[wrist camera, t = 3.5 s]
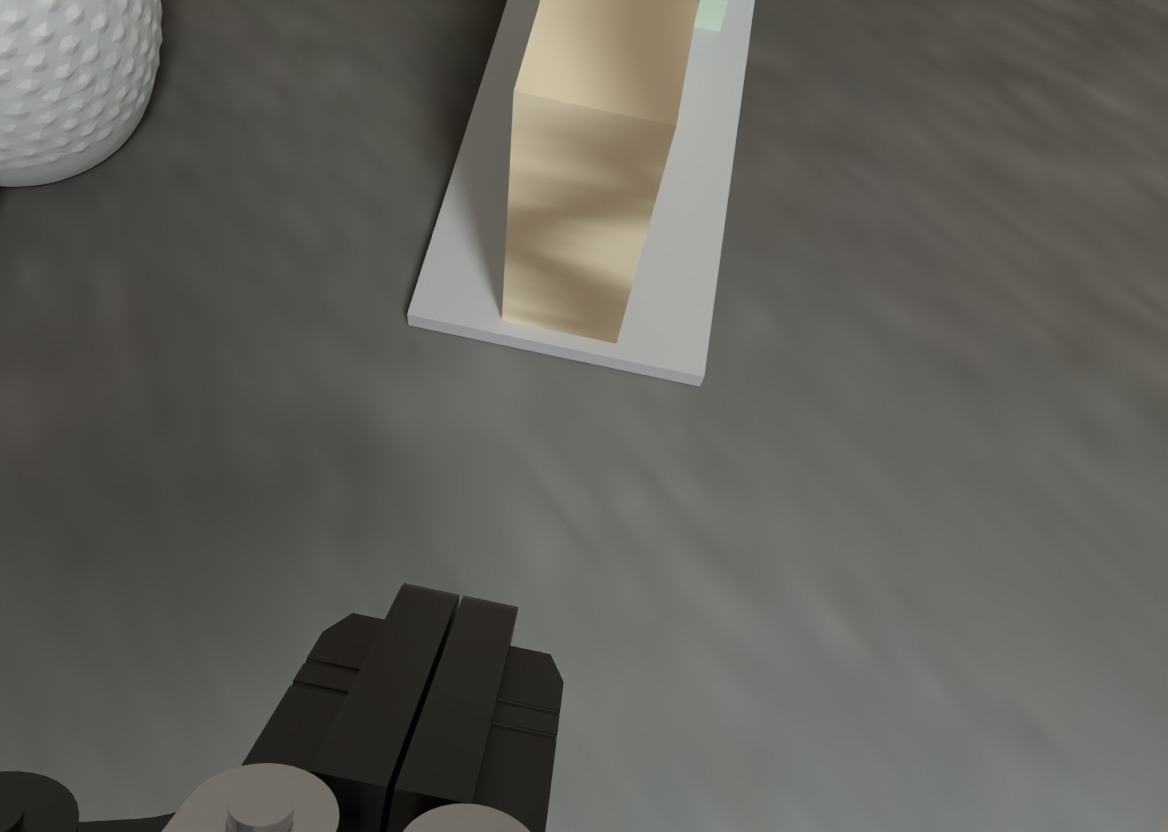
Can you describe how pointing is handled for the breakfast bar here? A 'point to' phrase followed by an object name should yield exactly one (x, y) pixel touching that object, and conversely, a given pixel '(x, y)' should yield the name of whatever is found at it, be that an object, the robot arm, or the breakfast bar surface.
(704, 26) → the end cap
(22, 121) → the mug
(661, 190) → the board
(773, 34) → the breakfast bar surface
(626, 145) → the tan wooden block
